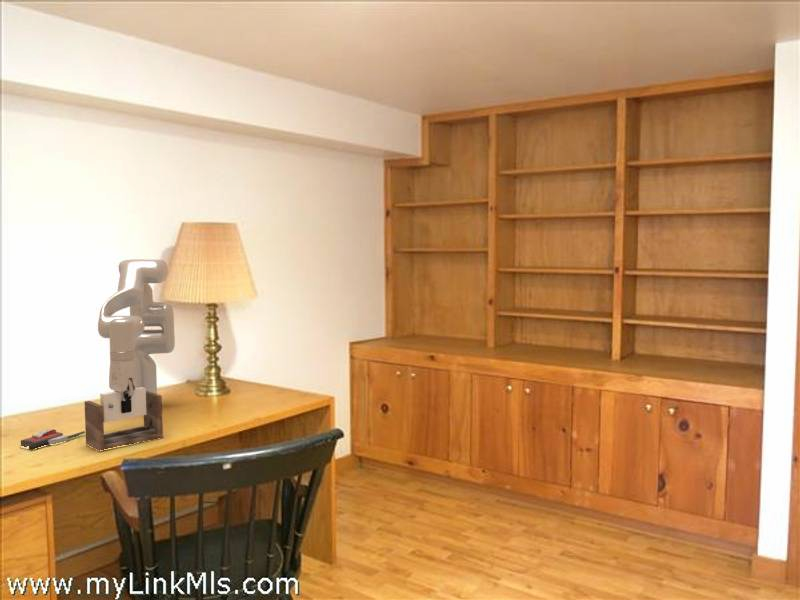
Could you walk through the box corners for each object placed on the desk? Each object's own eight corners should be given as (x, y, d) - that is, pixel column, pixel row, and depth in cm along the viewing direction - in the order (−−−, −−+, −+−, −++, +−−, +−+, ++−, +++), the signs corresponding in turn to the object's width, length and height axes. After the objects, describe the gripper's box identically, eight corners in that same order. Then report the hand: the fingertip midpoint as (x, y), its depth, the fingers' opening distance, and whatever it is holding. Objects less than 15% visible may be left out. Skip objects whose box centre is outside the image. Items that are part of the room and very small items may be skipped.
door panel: (142, 413, 225) (142, 387, 224) (147, 415, 223) (147, 388, 222) (101, 421, 215) (100, 393, 214) (105, 422, 212) (105, 395, 212)
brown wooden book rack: (148, 432, 231) (147, 391, 230) (162, 438, 224) (161, 395, 223) (86, 445, 216) (84, 401, 214) (99, 452, 209) (97, 406, 208)
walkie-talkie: (36, 453, 209) (87, 436, 227) (35, 439, 208) (86, 423, 227) (15, 450, 212) (68, 433, 231) (15, 436, 212) (67, 421, 230)
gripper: (100, 354, 220) (102, 409, 222) (122, 360, 209) (124, 417, 211) (122, 352, 226) (124, 406, 227) (145, 357, 215) (146, 413, 216)
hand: (124, 411), depth 219 cm, fingers closed on door panel, 2 cm apart
